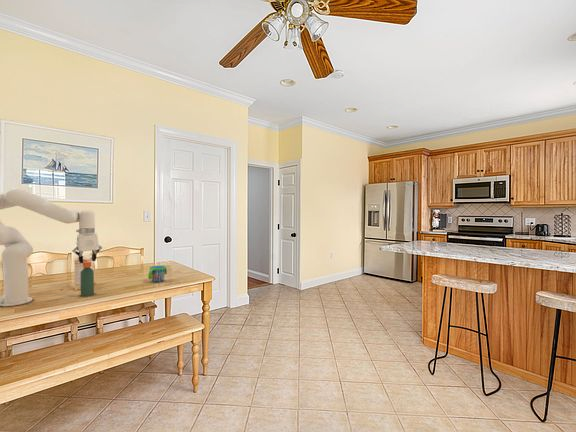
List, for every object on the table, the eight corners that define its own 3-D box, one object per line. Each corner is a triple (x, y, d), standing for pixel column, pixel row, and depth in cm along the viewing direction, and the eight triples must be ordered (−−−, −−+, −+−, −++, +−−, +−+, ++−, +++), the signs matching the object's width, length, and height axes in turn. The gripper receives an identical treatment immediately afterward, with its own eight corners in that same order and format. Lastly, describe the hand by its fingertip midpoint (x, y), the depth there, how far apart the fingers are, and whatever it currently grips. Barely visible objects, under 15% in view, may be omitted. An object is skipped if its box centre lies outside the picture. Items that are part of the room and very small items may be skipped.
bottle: (83, 297, 161) (82, 264, 161) (78, 295, 165) (78, 263, 164) (95, 294, 166) (95, 262, 166) (91, 292, 170) (91, 261, 170)
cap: (84, 268, 162) (84, 263, 162) (81, 267, 165) (81, 262, 165) (92, 267, 166) (92, 262, 166) (89, 266, 168) (89, 261, 168)
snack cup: (161, 277, 207) (161, 264, 207) (172, 279, 203) (172, 265, 203) (142, 282, 193) (142, 268, 193) (154, 284, 189) (154, 269, 189)
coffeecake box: (82, 284, 188) (82, 255, 188) (94, 283, 191) (94, 254, 190) (74, 290, 174) (74, 259, 174) (87, 289, 177) (87, 258, 176)
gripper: (71, 232, 155) (72, 265, 156) (106, 230, 170) (106, 260, 170) (67, 232, 160) (67, 263, 160) (100, 230, 174) (101, 258, 174)
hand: (87, 261), depth 165 cm, fingers open, 5 cm apart
